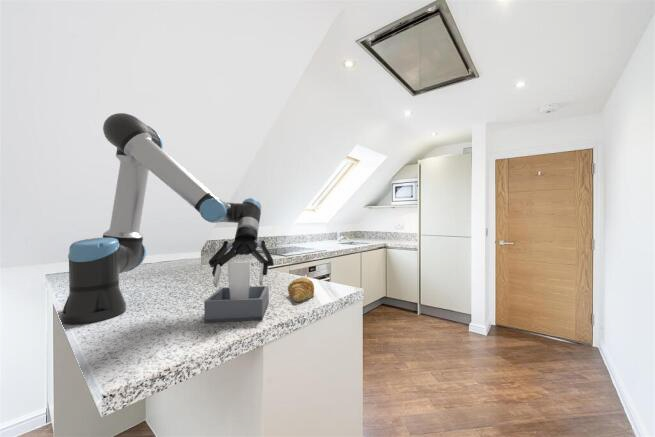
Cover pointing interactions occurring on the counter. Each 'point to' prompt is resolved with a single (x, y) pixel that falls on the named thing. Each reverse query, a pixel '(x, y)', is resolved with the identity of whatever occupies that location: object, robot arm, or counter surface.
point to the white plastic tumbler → (239, 278)
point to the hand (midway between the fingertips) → (238, 284)
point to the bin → (236, 305)
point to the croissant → (301, 289)
